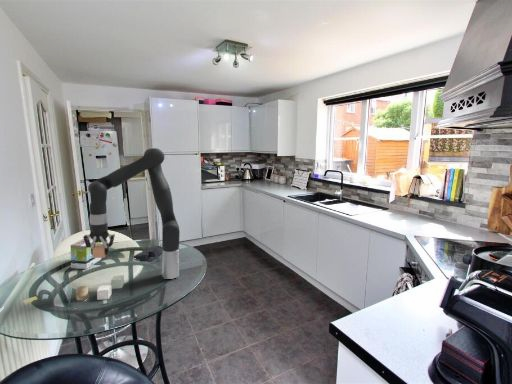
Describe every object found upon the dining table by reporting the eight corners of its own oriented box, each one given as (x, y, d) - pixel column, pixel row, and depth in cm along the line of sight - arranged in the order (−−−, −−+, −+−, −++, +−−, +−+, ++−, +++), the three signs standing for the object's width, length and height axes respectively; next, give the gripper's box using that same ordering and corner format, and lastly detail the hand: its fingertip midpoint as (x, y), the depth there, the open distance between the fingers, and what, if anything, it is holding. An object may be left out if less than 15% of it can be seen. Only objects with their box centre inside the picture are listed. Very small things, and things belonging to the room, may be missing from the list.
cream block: (111, 293, 137) (111, 284, 136) (108, 299, 132) (108, 289, 132) (100, 294, 136) (100, 285, 135) (97, 299, 131) (97, 290, 131)
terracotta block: (107, 253, 138) (106, 244, 137) (104, 257, 133) (103, 248, 132) (96, 253, 137) (96, 244, 136) (92, 257, 132) (92, 248, 131)
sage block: (124, 283, 148) (123, 275, 147) (121, 288, 143) (121, 279, 142) (114, 284, 147) (114, 275, 146) (111, 288, 142) (111, 280, 141)
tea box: (87, 269, 160) (86, 246, 158) (70, 268, 161) (69, 245, 158) (102, 259, 175) (101, 237, 173) (86, 258, 175) (85, 236, 173)
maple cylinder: (90, 294, 135) (89, 285, 134) (86, 300, 130) (85, 291, 129) (78, 295, 134) (78, 286, 133) (74, 301, 129) (73, 291, 128)
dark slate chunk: (169, 251, 196) (169, 244, 195) (150, 263, 175) (150, 256, 174) (150, 247, 200) (150, 241, 199) (130, 259, 179) (130, 252, 178)
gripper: (116, 219, 137) (117, 251, 140) (85, 220, 134) (87, 252, 137) (112, 224, 130) (113, 257, 133) (79, 224, 127) (81, 258, 130)
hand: (100, 254), depth 135 cm, fingers closed on terracotta block, 5 cm apart
